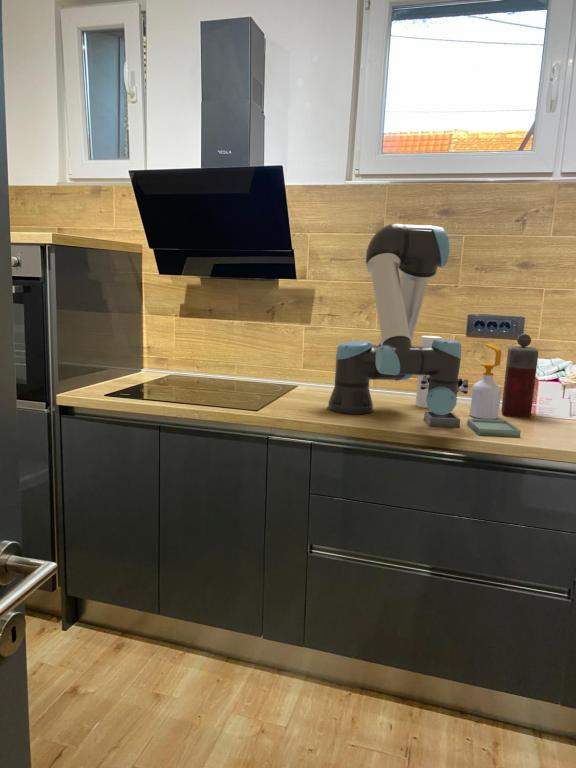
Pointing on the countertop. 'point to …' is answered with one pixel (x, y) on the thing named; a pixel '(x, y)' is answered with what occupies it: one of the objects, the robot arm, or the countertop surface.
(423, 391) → the cylindrical container
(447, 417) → the socket collar
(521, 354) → the dark red bottle
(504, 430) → the tray
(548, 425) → the countertop surface
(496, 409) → the soap bottle
